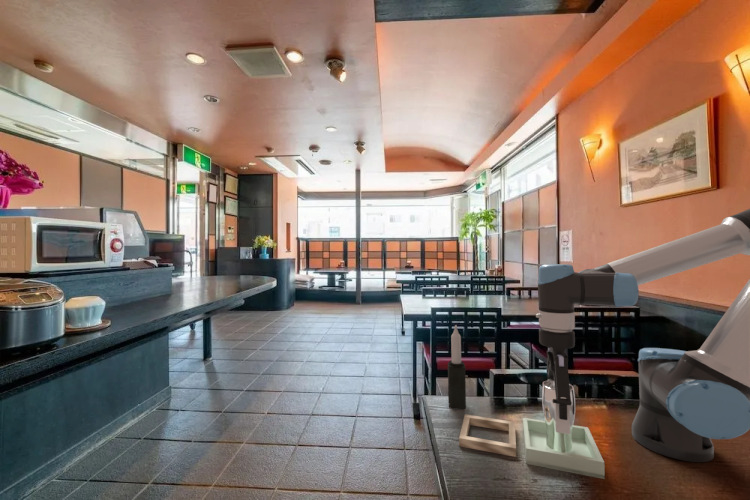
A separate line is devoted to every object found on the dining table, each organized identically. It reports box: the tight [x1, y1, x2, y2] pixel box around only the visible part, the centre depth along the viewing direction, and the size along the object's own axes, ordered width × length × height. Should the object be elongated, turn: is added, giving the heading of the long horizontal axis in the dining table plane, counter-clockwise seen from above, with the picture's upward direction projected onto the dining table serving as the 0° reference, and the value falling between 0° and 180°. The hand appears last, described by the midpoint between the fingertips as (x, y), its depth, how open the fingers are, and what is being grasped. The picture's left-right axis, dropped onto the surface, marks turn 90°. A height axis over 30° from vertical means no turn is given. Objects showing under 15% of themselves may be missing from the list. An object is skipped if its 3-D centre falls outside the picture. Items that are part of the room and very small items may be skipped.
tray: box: [522, 417, 606, 480], centre depth 80 cm, size 15×15×4 cm
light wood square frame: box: [458, 413, 517, 458], centre depth 87 cm, size 13×13×2 cm
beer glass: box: [541, 379, 576, 454], centre depth 80 cm, size 7×7×15 cm
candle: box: [447, 324, 467, 410], centre depth 105 cm, size 5×5×25 cm
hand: (558, 418), depth 80 cm, fingers open, 13 cm apart
